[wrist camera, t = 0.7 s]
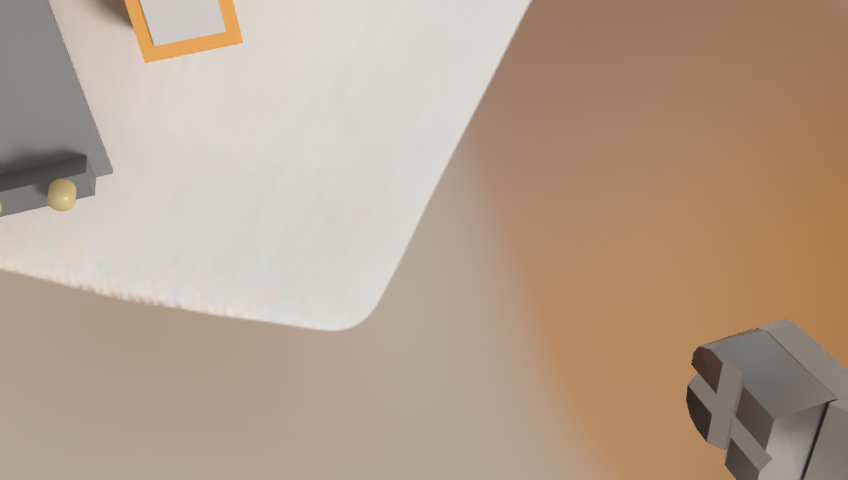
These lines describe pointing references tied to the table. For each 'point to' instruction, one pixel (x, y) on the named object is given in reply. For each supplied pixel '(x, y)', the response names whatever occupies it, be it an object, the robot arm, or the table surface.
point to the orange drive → (182, 26)
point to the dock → (42, 116)
